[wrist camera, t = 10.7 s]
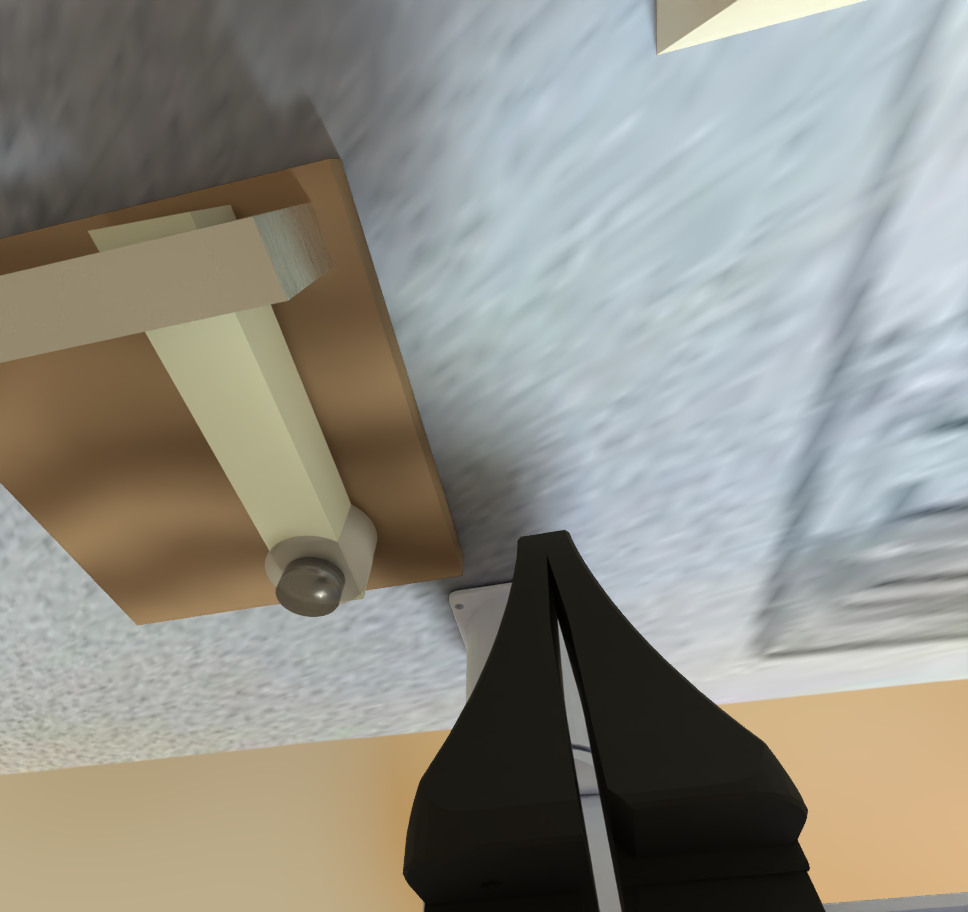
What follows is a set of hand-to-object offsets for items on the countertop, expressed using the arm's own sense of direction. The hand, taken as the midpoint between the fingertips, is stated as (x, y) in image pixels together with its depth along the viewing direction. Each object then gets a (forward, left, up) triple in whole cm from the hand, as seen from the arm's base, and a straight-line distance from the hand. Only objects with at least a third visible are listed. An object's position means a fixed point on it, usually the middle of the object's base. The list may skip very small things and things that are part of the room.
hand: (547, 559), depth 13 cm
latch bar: (+2, +10, -8) cm, 13 cm away
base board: (+1, +14, -9) cm, 17 cm away
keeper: (+8, +10, -8) cm, 15 cm away
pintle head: (-4, +10, -5) cm, 12 cm away
